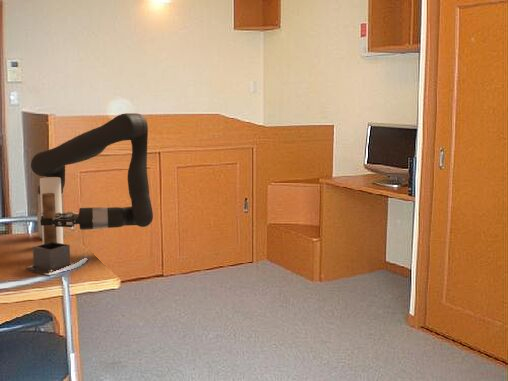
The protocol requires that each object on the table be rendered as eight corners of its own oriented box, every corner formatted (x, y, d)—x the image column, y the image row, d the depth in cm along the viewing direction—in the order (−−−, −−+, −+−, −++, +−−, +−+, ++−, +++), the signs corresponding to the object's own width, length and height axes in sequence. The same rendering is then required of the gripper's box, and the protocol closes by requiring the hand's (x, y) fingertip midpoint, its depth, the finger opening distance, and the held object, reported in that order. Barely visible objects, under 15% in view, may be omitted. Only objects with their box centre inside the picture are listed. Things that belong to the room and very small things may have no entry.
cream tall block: (38, 247, 220) (35, 178, 216) (53, 243, 226) (50, 176, 222) (52, 250, 216) (49, 180, 213) (67, 245, 223) (65, 177, 219)
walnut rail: (42, 252, 206) (39, 194, 203) (51, 249, 210) (49, 192, 207) (50, 254, 204) (47, 195, 201) (59, 251, 208) (57, 193, 204)
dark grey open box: (26, 270, 191) (25, 247, 190) (54, 262, 200) (53, 240, 199) (50, 276, 185) (49, 251, 184) (77, 267, 194) (77, 244, 193)
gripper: (92, 203, 215) (41, 205, 211) (94, 211, 202) (39, 213, 197) (93, 224, 217) (42, 227, 212) (94, 233, 203) (40, 236, 198)
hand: (41, 220), depth 204 cm, fingers closed on walnut rail, 4 cm apart
